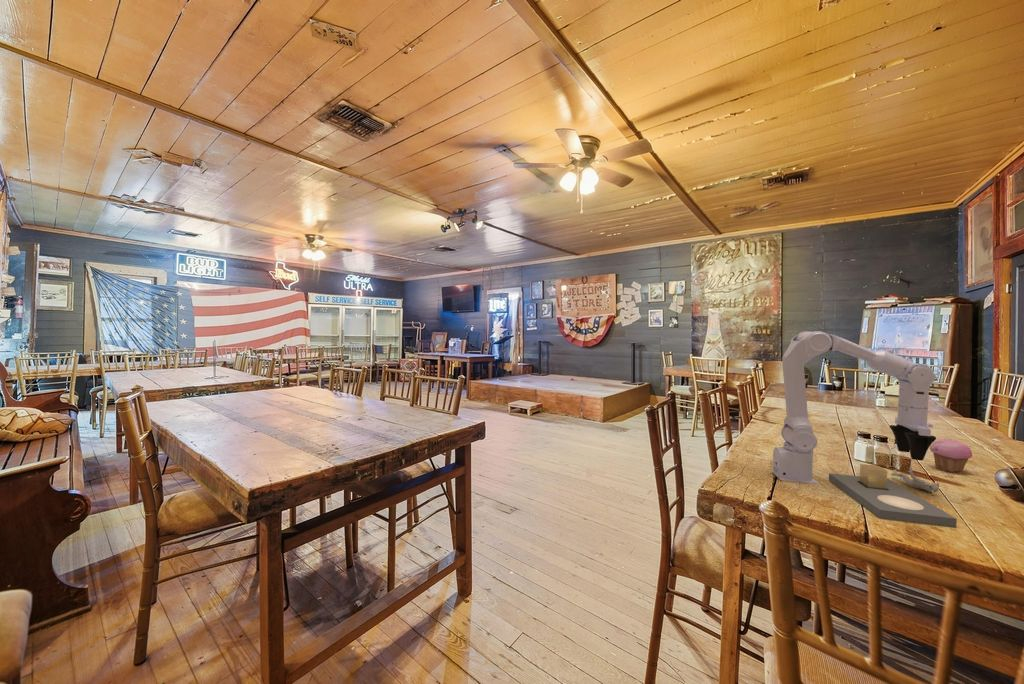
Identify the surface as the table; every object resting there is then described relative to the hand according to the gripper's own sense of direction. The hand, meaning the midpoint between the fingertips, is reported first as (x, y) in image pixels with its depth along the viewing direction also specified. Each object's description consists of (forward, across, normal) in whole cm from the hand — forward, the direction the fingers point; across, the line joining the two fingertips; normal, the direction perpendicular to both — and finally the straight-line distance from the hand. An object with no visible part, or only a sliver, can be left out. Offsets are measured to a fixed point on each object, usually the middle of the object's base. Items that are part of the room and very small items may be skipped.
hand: (910, 455), depth 108 cm
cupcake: (+10, +27, -20) cm, 35 cm away
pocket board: (+10, -13, +9) cm, 19 cm away
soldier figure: (+10, +3, -2) cm, 11 cm away
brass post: (+10, -8, +10) cm, 16 cm away
